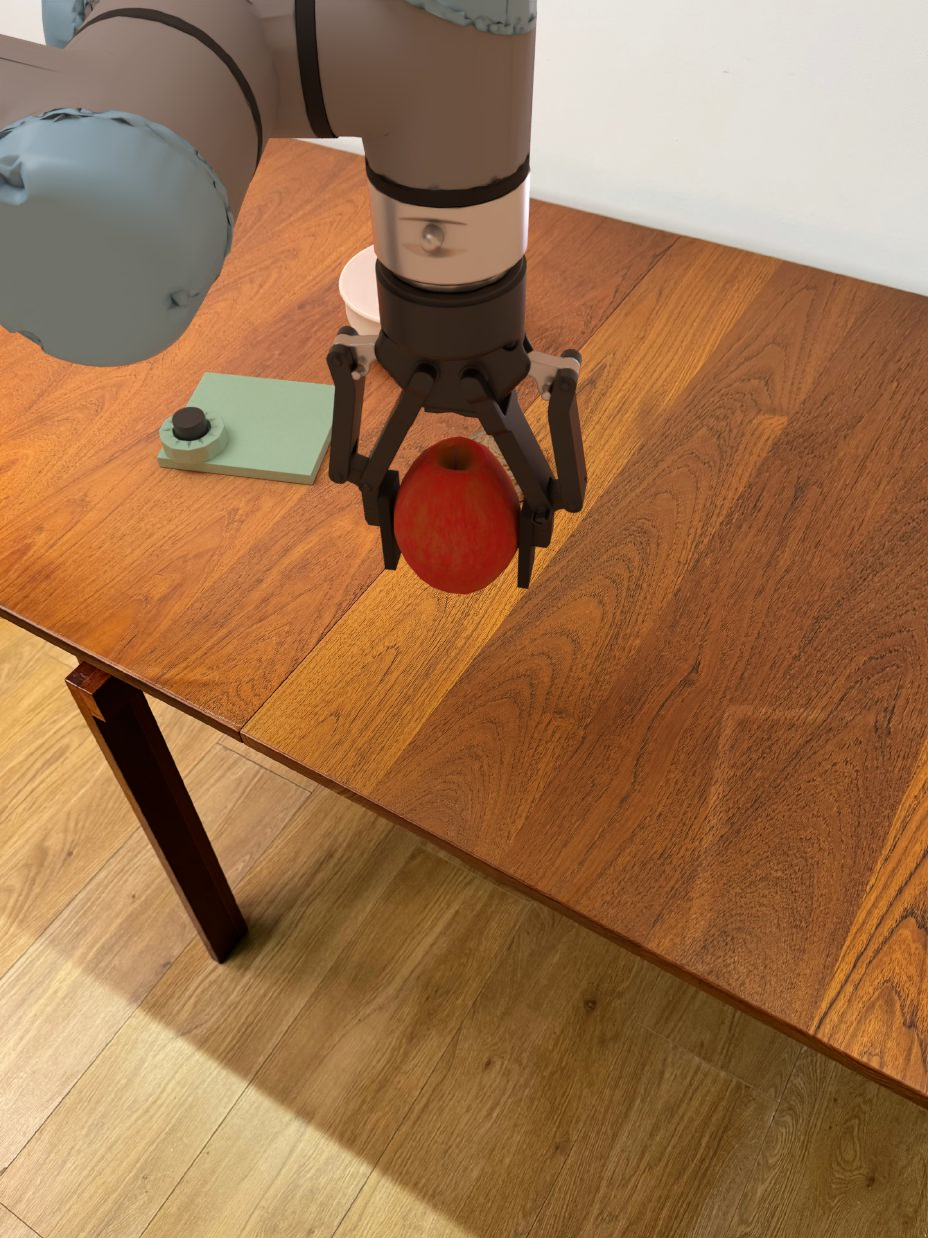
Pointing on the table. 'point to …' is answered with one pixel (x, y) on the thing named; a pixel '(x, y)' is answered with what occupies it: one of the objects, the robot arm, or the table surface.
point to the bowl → (361, 292)
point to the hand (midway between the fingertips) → (459, 563)
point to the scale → (255, 429)
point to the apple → (457, 516)
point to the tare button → (190, 424)
